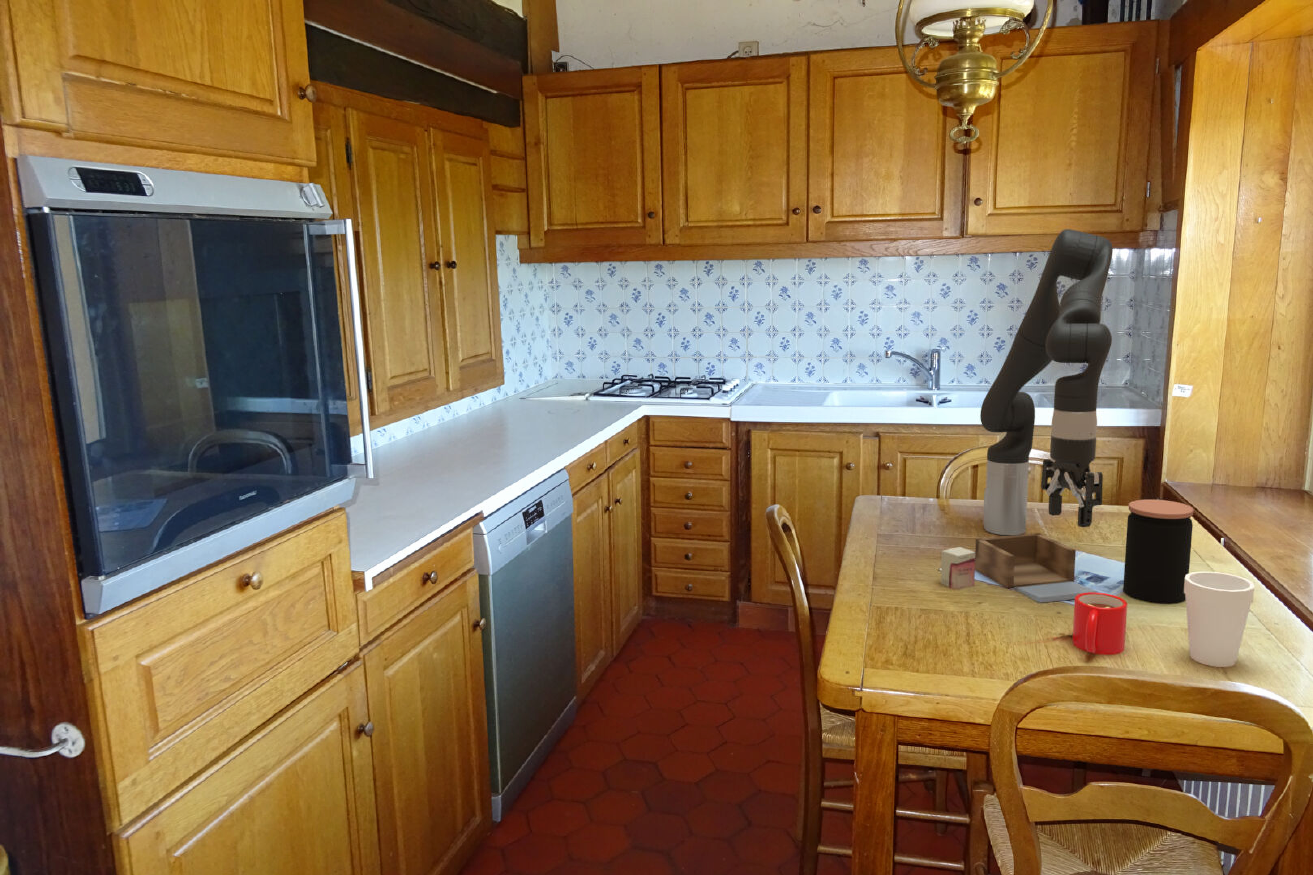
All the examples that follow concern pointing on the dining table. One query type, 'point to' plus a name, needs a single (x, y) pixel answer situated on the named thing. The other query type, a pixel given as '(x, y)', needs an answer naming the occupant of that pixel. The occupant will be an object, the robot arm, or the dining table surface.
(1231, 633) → the foam cup
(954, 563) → the small box
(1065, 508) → the dining table surface
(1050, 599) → the panel
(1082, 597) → the mug
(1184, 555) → the coffee jar
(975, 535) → the dining table surface
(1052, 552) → the open wooden box
